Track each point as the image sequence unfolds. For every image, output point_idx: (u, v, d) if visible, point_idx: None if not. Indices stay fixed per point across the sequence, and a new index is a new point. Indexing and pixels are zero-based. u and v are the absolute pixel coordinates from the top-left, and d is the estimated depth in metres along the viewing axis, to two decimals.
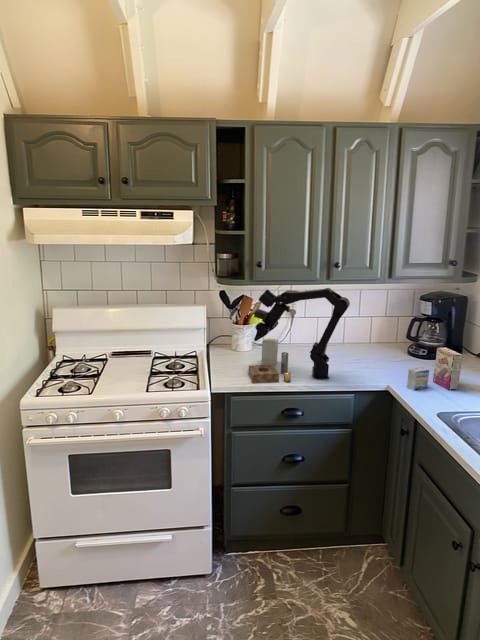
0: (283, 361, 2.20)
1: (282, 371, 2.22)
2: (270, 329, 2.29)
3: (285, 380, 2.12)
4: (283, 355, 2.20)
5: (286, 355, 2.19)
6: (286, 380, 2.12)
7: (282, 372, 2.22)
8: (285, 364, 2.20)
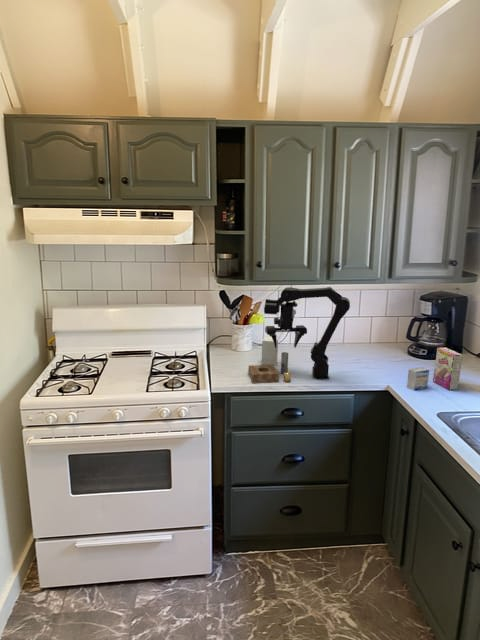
0: (283, 361, 2.20)
1: (282, 371, 2.22)
2: (297, 336, 2.17)
3: (285, 380, 2.12)
4: (283, 355, 2.20)
5: (286, 355, 2.19)
6: (286, 380, 2.12)
7: (282, 372, 2.22)
8: (285, 364, 2.20)
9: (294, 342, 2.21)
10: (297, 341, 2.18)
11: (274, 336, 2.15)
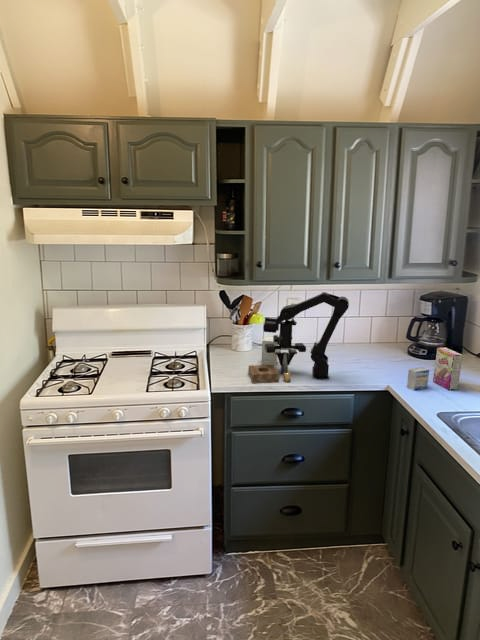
0: (283, 361, 2.20)
1: (281, 371, 2.22)
2: (290, 355, 2.19)
3: (285, 380, 2.12)
4: (283, 355, 2.20)
5: (286, 355, 2.19)
6: (286, 380, 2.12)
7: (282, 372, 2.22)
8: (285, 364, 2.20)
9: None
10: (290, 359, 2.20)
11: (279, 354, 2.17)
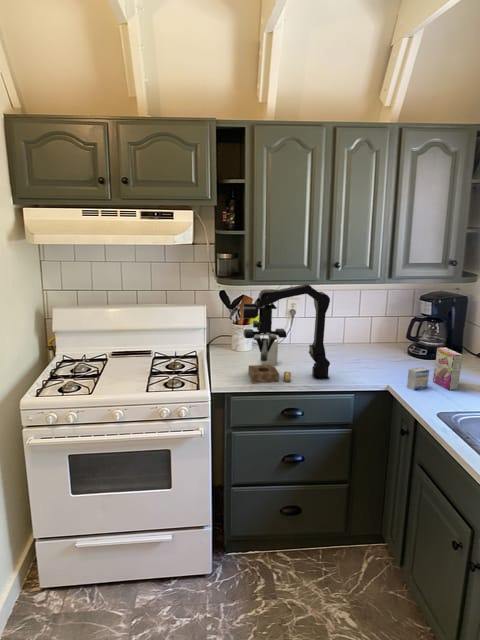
0: (263, 347, 2.12)
1: (261, 357, 2.13)
2: (270, 340, 2.11)
3: (285, 380, 2.12)
4: (263, 341, 2.11)
5: (266, 341, 2.11)
6: (286, 380, 2.12)
7: (262, 359, 2.13)
8: (265, 350, 2.12)
9: None
10: (270, 345, 2.12)
11: (258, 340, 2.09)
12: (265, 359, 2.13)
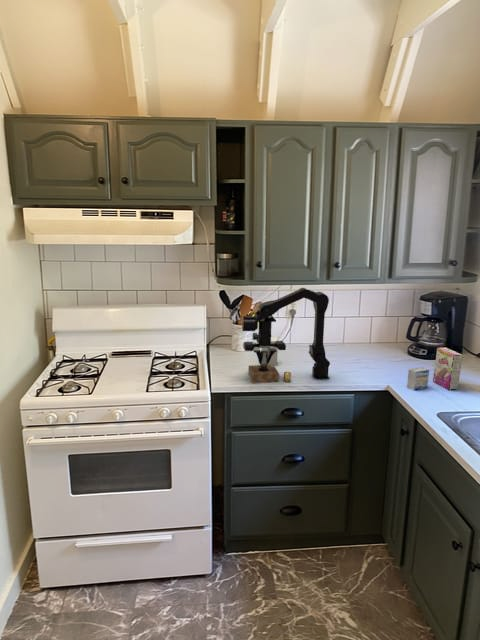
0: (262, 359, 2.13)
1: (261, 370, 2.15)
2: (269, 353, 2.12)
3: (285, 380, 2.12)
4: (262, 353, 2.13)
5: (265, 353, 2.12)
6: (286, 380, 2.12)
7: None
8: (264, 362, 2.13)
9: None
10: (270, 357, 2.13)
11: (258, 352, 2.10)
12: None
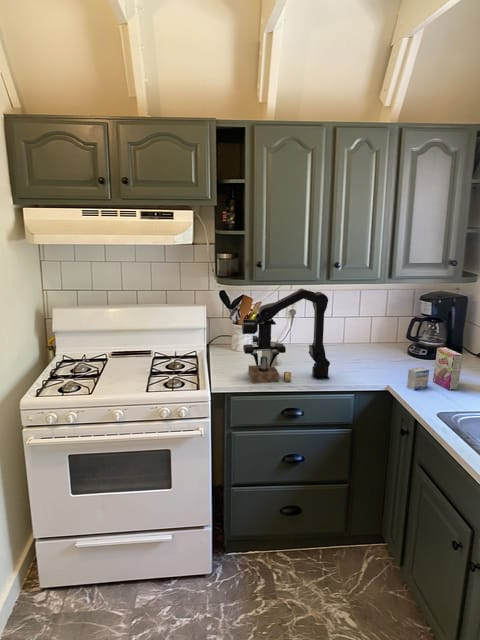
0: (262, 365, 2.14)
1: None
2: (272, 355, 2.13)
3: (285, 380, 2.12)
4: (262, 359, 2.13)
5: (265, 359, 2.13)
6: (286, 380, 2.12)
7: None
8: (264, 368, 2.14)
9: None
10: (272, 360, 2.13)
11: (255, 355, 2.11)
12: None
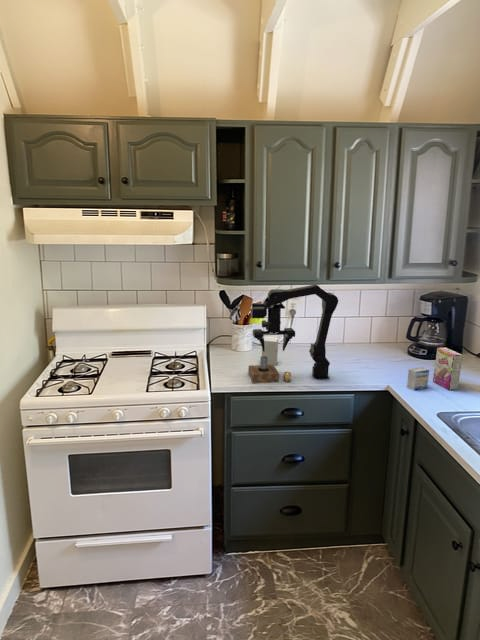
0: (262, 365, 2.14)
1: None
2: (285, 339, 2.12)
3: (285, 380, 2.12)
4: (262, 359, 2.13)
5: (265, 359, 2.13)
6: (286, 380, 2.12)
7: None
8: (264, 368, 2.14)
9: None
10: (285, 344, 2.13)
11: (261, 340, 2.10)
12: None
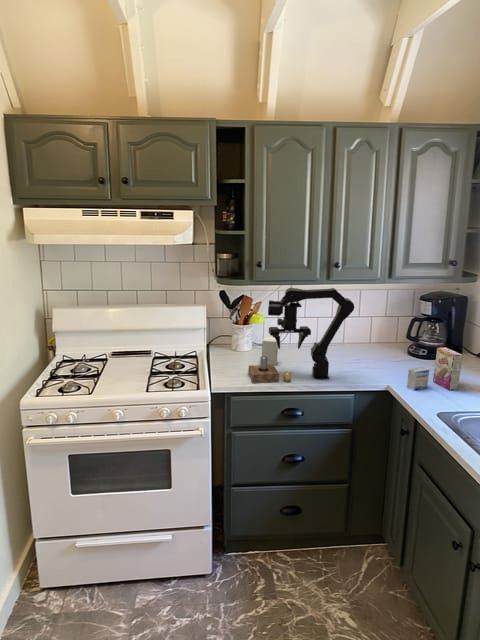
0: (262, 365, 2.14)
1: None
2: (300, 338, 2.15)
3: (285, 380, 2.12)
4: (262, 359, 2.13)
5: (265, 359, 2.13)
6: (286, 380, 2.12)
7: None
8: (264, 368, 2.14)
9: (298, 343, 2.18)
10: (301, 342, 2.15)
11: (278, 337, 2.12)
12: None
